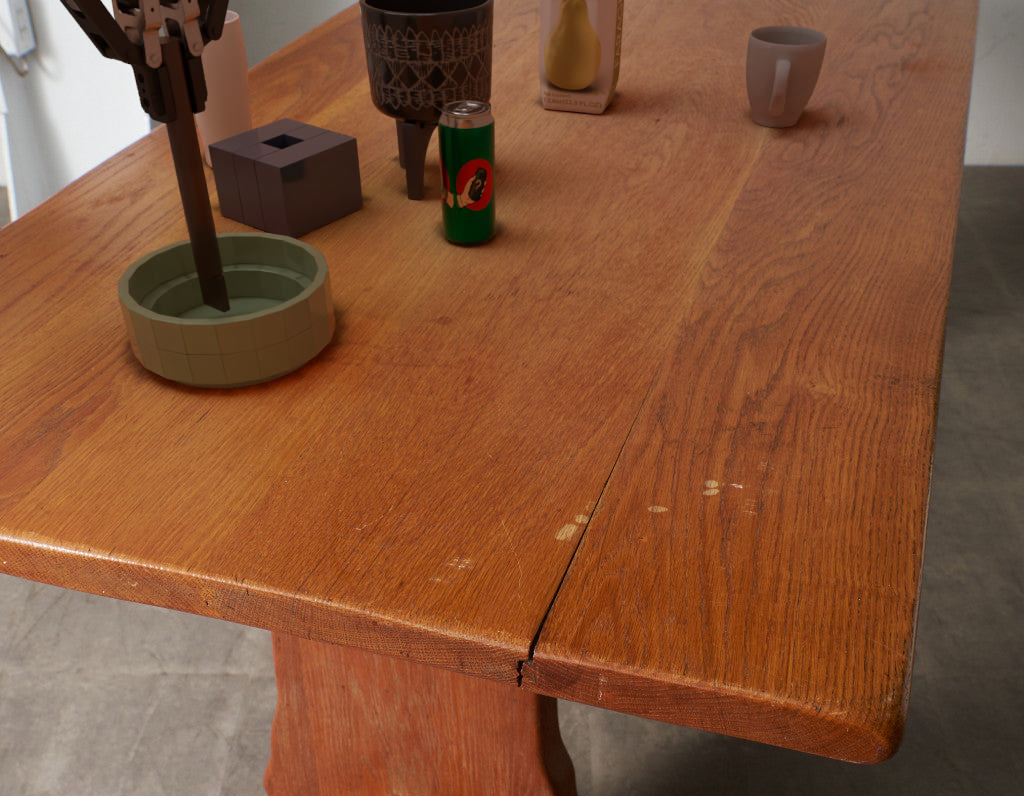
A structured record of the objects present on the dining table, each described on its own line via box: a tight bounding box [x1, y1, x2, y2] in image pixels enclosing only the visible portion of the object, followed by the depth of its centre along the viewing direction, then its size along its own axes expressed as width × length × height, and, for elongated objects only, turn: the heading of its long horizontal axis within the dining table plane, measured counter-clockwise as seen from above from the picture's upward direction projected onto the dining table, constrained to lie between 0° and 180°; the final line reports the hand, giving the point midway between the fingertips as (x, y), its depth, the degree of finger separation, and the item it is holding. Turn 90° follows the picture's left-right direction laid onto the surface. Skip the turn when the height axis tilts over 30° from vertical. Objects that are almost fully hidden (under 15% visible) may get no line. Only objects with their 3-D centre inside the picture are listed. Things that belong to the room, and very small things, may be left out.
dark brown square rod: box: [159, 35, 230, 313], centre depth 74 cm, size 2×2×20 cm
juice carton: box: [538, 0, 625, 115], centre depth 119 cm, size 9×8×24 cm
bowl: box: [117, 231, 337, 389], centre depth 79 cm, size 16×16×6 cm
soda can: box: [437, 101, 497, 247], centre depth 93 cm, size 5×5×12 cm
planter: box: [358, 0, 495, 201], centre depth 102 cm, size 13×13×18 cm
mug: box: [745, 25, 828, 128], centre depth 118 cm, size 12×9×10 cm
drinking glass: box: [194, 9, 253, 169], centre depth 107 cm, size 7×7×15 cm
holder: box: [208, 117, 364, 239], centre depth 99 cm, size 10×10×7 cm
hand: (177, 114), depth 71 cm, fingers closed on dark brown square rod, 2 cm apart
